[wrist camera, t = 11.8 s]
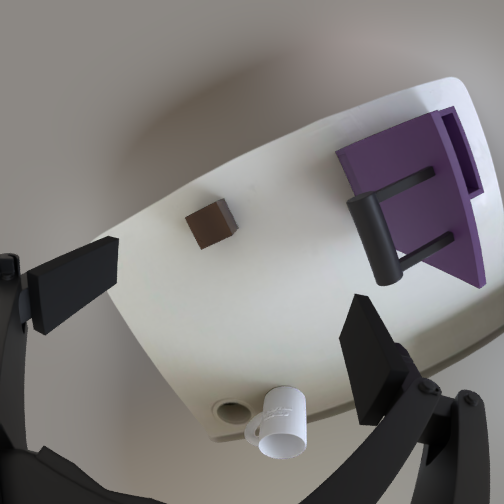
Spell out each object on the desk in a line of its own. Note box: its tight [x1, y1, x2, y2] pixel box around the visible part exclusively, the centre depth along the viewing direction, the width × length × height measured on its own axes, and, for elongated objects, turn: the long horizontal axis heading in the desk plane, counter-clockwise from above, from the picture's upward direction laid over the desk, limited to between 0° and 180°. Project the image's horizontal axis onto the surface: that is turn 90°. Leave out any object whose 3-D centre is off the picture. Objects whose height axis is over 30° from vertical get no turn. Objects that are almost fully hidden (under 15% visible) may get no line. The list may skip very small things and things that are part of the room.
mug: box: [244, 386, 307, 459], centre depth 47 cm, size 8×12×12 cm
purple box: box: [335, 106, 484, 199], centre depth 36 cm, size 18×13×8 cm
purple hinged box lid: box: [343, 110, 486, 289], centre depth 25 cm, size 19×13×8 cm
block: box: [185, 199, 238, 250], centre depth 43 cm, size 5×5×5 cm
